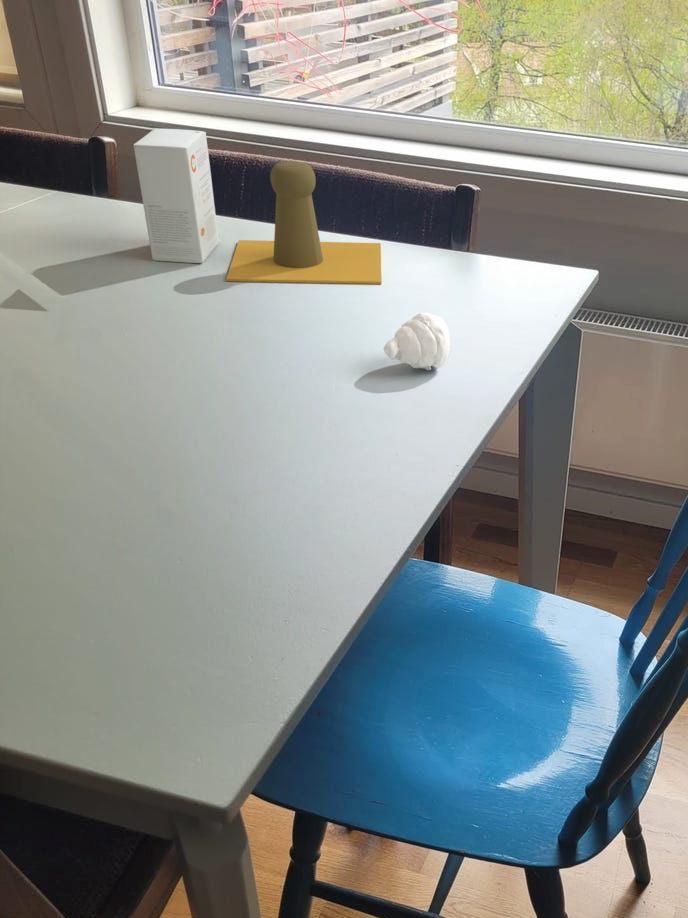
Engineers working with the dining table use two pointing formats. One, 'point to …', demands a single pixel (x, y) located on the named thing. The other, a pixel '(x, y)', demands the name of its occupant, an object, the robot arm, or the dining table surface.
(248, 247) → the linen cloth
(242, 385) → the dining table surface
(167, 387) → the dining table surface
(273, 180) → the cork
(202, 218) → the small box
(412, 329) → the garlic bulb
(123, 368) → the dining table surface
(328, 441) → the dining table surface
